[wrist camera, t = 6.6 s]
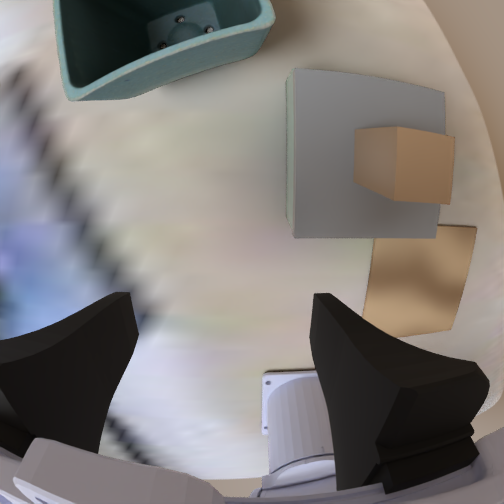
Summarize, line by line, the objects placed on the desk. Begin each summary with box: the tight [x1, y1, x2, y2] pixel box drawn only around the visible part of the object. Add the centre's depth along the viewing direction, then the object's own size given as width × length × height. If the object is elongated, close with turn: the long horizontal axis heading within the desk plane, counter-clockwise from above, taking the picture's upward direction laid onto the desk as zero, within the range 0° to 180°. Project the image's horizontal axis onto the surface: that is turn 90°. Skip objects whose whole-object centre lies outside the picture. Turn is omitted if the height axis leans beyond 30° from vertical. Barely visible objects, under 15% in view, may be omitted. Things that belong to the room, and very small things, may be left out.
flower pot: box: [53, 0, 276, 101], centre depth 12 cm, size 9×9×9 cm
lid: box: [292, 68, 455, 239], centre depth 12 cm, size 9×9×6 cm
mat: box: [362, 226, 477, 338], centre depth 22 cm, size 10×10×1 cm
